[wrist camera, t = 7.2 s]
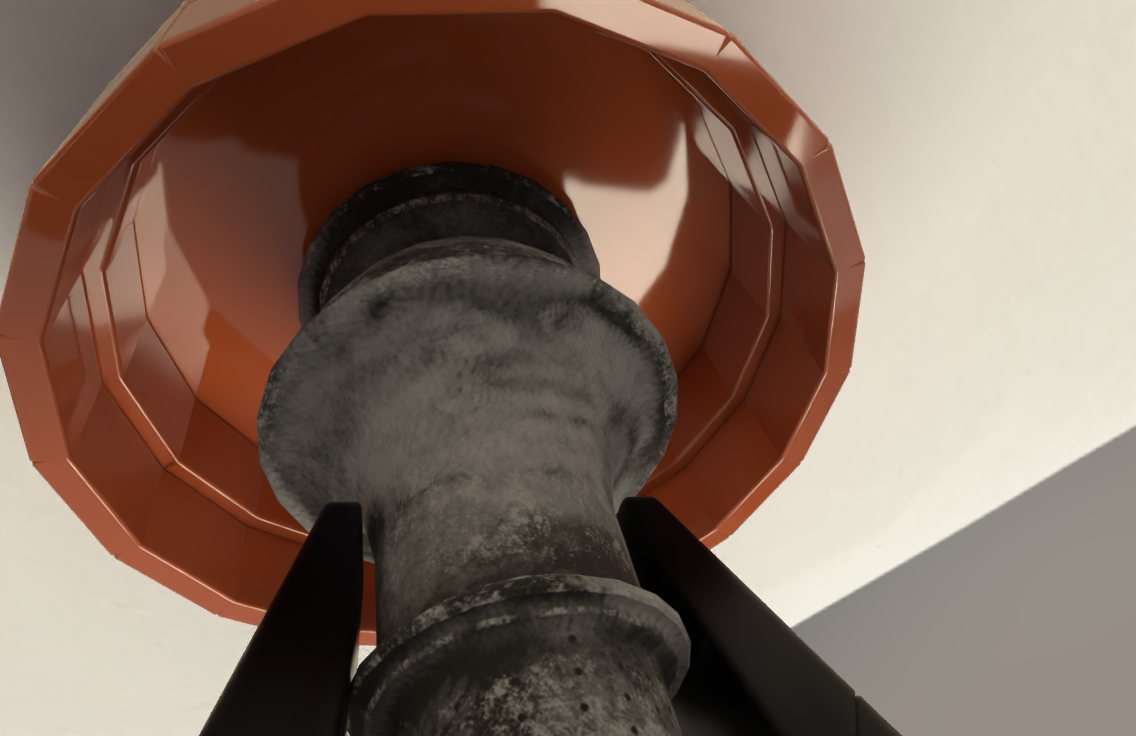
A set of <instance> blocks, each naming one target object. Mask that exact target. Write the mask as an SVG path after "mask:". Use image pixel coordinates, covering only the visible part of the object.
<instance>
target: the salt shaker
mask: <svg viewBox="0 0 1136 736" xmlns="http://www.w3.org/2000/svg"><path fill="white" fill-rule="evenodd" d="M298 305H299V321H300V323H301V326H302V327H301V329H300V330H299V331H298V333H297V334H296V335H295V337H294V338H293V340H292V341H291V342H290V344H289V345H288V346H287V348H286V349H285V351H284V352H283V353H282V355H281V356H280V358H279V359H278V360H277V362H276V363H275V364H274V366H273V367H272V369H271V371H270V374H269V377H268V381H267V384H266V387H265V391H264V394H263V397H262V401H261V404H260V407H259V410H258V414H257V419H256V422H257V435H258V447H259V460H260V465H261V467H262V469H263V471H264V473H265V475H266V477H267V479H268V482H269V484H270V486H271V488H272V490H273V492H274V494H275V496H276V498H277V500H278V502H279V503H280V504H281V505H282V506H283V507H284V508H285V509H286V510H287V511H288V512H289V513H290V514H291V515H292V516H293V517H294V518H295V519H296V520H297V521H298V522H299V523H300V524H301V525H302V526H303V527H304V528H305V529H306V530H307V531H308V532H310V530H311V529H312V527H313V525H314V523H315V521H316V519H317V518H318V516H319V514H320V512H321V510H322V509H323V507H324V506H325V505H326V504H327V503H329V502H359V503H360V504H361V506H362V522H363V560H364V561H367V562H371V563H374V564H375V599H376V648H375V649H374V650H373V651H372V652H371V653H370V654H369V655H368V656H367V657H366V658H365V659H364V661H363V662H362V663H361V664H360V665H359V667H358V669H357V671H356V673H355V675H354V677H353V679H352V681H351V687H350V694H349V705H348V720H347V731H348V733H349V735H350V736H683V735H682V732H681V729H680V726H679V723H678V720H677V717H676V714H675V711H674V708H673V705H672V702H671V700H672V699H673V697H674V696H675V695H676V694H677V692H678V690H679V688H680V686H681V683H682V681H683V679H684V677H685V675H686V673H687V671H688V669H689V666H690V651H691V641H690V639H689V636H688V634H687V632H686V629H685V627H684V625H683V623H682V621H681V618H680V616H679V614H678V612H676V611H675V610H674V609H673V608H672V607H670V606H669V605H668V604H667V603H666V602H664V601H663V600H662V599H661V598H660V597H658V596H657V595H656V594H654V593H651V592H649V591H646V590H644V589H641V587H640V584H639V581H638V578H637V575H636V572H635V569H634V566H633V564H632V561H631V558H630V555H629V552H628V549H627V546H626V543H625V540H624V537H623V534H622V531H621V529H620V526H619V523H618V520H617V517H616V513H617V512H618V509H619V506H620V504H621V502H622V500H623V499H624V498H626V497H632V496H636V495H637V494H638V493H639V492H640V490H641V489H642V487H643V486H644V484H645V483H646V482H647V480H648V479H649V477H650V476H651V474H652V473H653V471H654V470H655V468H656V467H657V465H658V464H659V463H660V461H661V460H662V458H663V457H664V454H665V452H666V449H667V446H668V443H669V440H670V437H671V434H672V432H673V429H674V426H675V423H676V420H677V397H678V378H677V375H676V372H675V369H674V366H673V363H672V360H671V357H670V355H669V352H668V349H667V346H666V343H665V340H664V338H663V336H662V335H661V334H660V333H659V331H658V330H657V329H656V328H655V326H654V325H653V324H652V323H651V321H650V320H649V319H648V318H647V316H646V315H645V314H644V312H643V311H642V310H641V309H640V307H639V306H638V305H637V304H636V302H635V301H633V300H632V299H630V298H629V297H627V296H626V295H624V294H623V293H621V292H620V291H618V290H617V289H615V288H614V287H612V286H611V285H609V284H607V283H606V282H604V281H603V280H601V278H600V264H599V262H598V259H597V256H596V254H595V251H594V248H593V246H592V243H591V241H590V238H589V235H588V233H587V231H586V229H585V228H584V227H583V225H582V224H581V223H580V221H579V220H578V219H577V218H576V216H575V215H574V214H573V213H572V211H571V210H570V209H569V208H568V206H567V205H566V204H565V202H564V201H562V200H561V199H560V198H558V197H557V196H555V195H554V194H552V193H551V192H550V191H548V190H547V189H545V188H544V187H543V186H541V185H540V184H538V183H537V182H535V181H534V180H533V179H530V178H528V177H525V176H522V175H519V174H516V173H514V172H511V171H508V170H505V169H503V168H500V167H497V166H494V165H488V164H477V163H465V162H454V161H446V162H440V163H433V164H427V165H421V166H415V167H408V168H404V169H401V170H399V171H397V172H395V173H392V174H390V175H388V176H385V177H383V178H381V179H379V180H376V181H374V182H372V183H369V184H367V185H365V186H363V187H362V188H361V189H360V190H358V191H357V192H356V193H355V194H353V195H352V196H351V197H350V198H348V199H347V200H346V201H345V202H343V203H342V204H341V205H340V206H338V207H337V208H336V209H335V210H334V211H332V212H331V213H330V215H329V216H328V218H327V219H326V221H325V222H324V224H323V225H322V226H321V228H320V229H319V231H318V232H317V234H316V235H315V237H314V238H313V240H312V241H311V242H310V244H309V246H308V249H307V253H306V256H305V259H304V263H303V266H302V269H301V273H300V276H299V279H298Z"/></svg>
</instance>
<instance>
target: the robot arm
mask: <svg viewBox="0 0 1136 736" xmlns="http://www.w3.org/2000/svg"><path fill="white" fill-rule="evenodd" d="M616 517H617V520H618V523H619V526H620V529H621V531H622V534H623V537H624V540H625V543H626V546H627V549H628V552H629V555H630V558H631V561H632V564H633V566H634V569H635V572H636V575H637V578H638V581H639V584H640V587H641V589H644V590H646V591H649V592H651V593H654V594H656V595H657V596H658V597H660V598H661V599H662V600H663V601H664V602H666V603H667V604H668V605H669V606H670V607H672V608H673V609H674V610H675V611H676V612H678V614H679V616H680V618H681V621H682V623H683V625H684V627H685V629H686V632H687V634H688V636H689V639H690V641H691V651H690V666H689V669H688V671H687V673H686V675H685V677H684V679H683V681H682V683H681V686H680V688H679V690H678V692H677V694H676V695H675V696H674V697H673V699H672V700H671V702H672V705H673V708H674V711H675V714H676V717H677V720H678V723H679V726H680V729H681V732H682V735H683V736H902V735H901V734H900V733H898V731H896V730H895V729H894V728H893V727H892V726H891V725H890V724H889V723H888V722H887V721H886V720H885V719H883V717H881V716H880V715H879V714H878V713H877V712H876V711H875V710H874V709H873V708H872V707H871V706H870V705H869V704H868V703H867V702H866V701H865V700H864V699H863V698H862V697H861V696H858V695H857V696H855V691H854V690H853V689H852V688H851V687H850V686H849V685H848V684H847V683H846V682H845V681H844V680H843V679H842V678H841V677H840V676H839V675H838V674H837V673H836V672H834V670H833V669H832V668H831V667H830V666H829V665H828V664H826V662H824V661H823V660H822V659H821V658H820V657H819V656H818V655H817V654H816V653H815V652H814V651H813V650H812V649H811V648H810V647H809V646H808V645H807V644H806V643H805V642H804V641H803V640H802V639H801V638H800V637H799V636H798V635H797V634H796V633H795V632H794V631H793V630H791V628H790V627H788V626H787V625H786V624H785V623H784V622H783V621H782V620H781V619H780V618H779V617H778V616H777V615H776V614H775V613H774V612H773V611H772V610H771V609H770V608H769V607H768V606H767V605H766V604H765V603H764V602H763V601H762V600H761V599H760V598H759V597H758V596H757V595H756V594H754V593H753V592H752V591H751V590H750V589H749V588H748V587H747V586H746V585H745V584H744V583H743V582H742V581H741V580H740V579H739V578H738V577H737V576H736V575H735V574H734V573H733V572H732V571H731V570H730V569H729V568H728V567H727V566H726V565H725V564H724V563H723V562H722V561H720V560H719V559H718V558H717V557H716V556H715V555H714V554H713V553H712V552H711V551H710V550H709V549H708V548H707V547H706V546H705V545H704V544H703V543H702V542H701V541H700V540H699V539H698V538H697V537H696V536H695V535H694V534H693V533H692V532H691V531H690V530H689V529H688V528H686V527H685V526H684V525H683V524H682V523H681V522H680V521H679V520H678V519H677V518H676V517H675V516H674V515H673V514H672V513H671V512H670V511H669V510H668V509H667V508H666V507H665V506H664V505H663V504H662V503H661V502H660V501H659V500H657V499H656V498H654V497H651V496H632V497H626V498H624V499H623V500H622V502H621V504H620V506H619V509H618V512H617V515H616ZM363 583H364V567H363V522H362V506H361V504H360V503H359V502H329V503H327V504H326V505H325V506H324V507H323V509H322V510H321V512H320V514H319V516H318V518H317V519H316V521H315V523H314V525H313V527H312V529H311V530H310V532H309V534H308V536H307V538H306V540H305V541H304V543H303V545H302V547H301V549H300V551H299V553H298V554H297V556H296V558H295V560H294V562H293V564H292V565H291V567H290V569H289V571H288V573H287V575H286V576H285V578H284V580H283V582H282V584H281V586H280V587H279V589H278V591H277V593H276V595H275V597H274V598H273V600H272V602H271V604H270V606H269V608H268V610H267V611H266V613H265V615H264V617H263V619H262V621H261V622H260V624H259V626H258V628H257V630H256V632H255V633H254V635H253V637H252V639H251V641H250V643H249V644H248V646H247V648H246V650H245V652H244V654H243V655H242V657H241V659H240V661H239V663H238V665H237V666H236V668H235V670H234V672H233V674H232V676H231V678H230V679H229V681H228V683H227V685H226V687H225V689H224V690H223V692H222V694H221V696H220V698H219V700H218V701H217V703H216V705H215V707H214V709H213V711H212V712H211V714H210V716H209V718H208V720H207V722H206V723H205V725H204V727H203V729H202V731H201V733H200V734H199V736H350V735H349V733H348V731H347V720H348V705H349V694H350V687H351V681H352V679H353V677H354V675H355V673H356V671H357V666H358V653H359V640H360V627H361V614H362V601H363Z"/></svg>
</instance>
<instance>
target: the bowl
mask: <svg viewBox="0 0 1136 736" xmlns="http://www.w3.org/2000/svg"><path fill="white" fill-rule="evenodd" d="M446 161H454V162H465V163H477V164H488V165H494V166H497V167H500V168H503V169H505V170H508V171H511V172H514V173H516V174H519V175H522V176H525V177H528V178H530V179H533V180H534V181H535V182H537V183H538V184H540V185H541V186H543V187H544V188H545V189H547V190H548V191H550V192H551V193H552V194H554V195H555V196H557V197H558V198H560V199H561V200H562V201H564V202H565V204H566V205H567V206H568V208H569V209H570V210H571V211H572V213H573V214H574V215H575V216H576V218H577V219H578V220H579V221H580V223H581V224H582V225H583V227H584V228H585V229H586V231H587V233H588V235H589V238H590V241H591V243H592V246H593V248H594V251H595V254H596V256H597V259H598V262H599V264H600V278H601V280H603V281H604V282H606V283H607V284H609V285H611V286H612V287H614V288H615V289H617V290H618V291H620V292H621V293H623V294H624V295H626V296H627V297H629V298H630V299H632V300H633V301H635V302H636V304H637V305H638V306H639V307H640V309H641V310H642V311H643V312H644V314H645V315H646V316H647V318H648V319H649V320H650V321H651V323H652V324H653V325H654V326H655V328H656V329H657V330H658V331H659V333H660V334H661V335H662V336H663V338H664V340H665V343H666V346H667V349H668V352H669V355H670V357H671V360H672V363H673V366H674V369H675V372H676V375H677V378H678V397H677V420H676V423H675V426H674V429H673V432H672V434H671V437H670V440H669V443H668V446H667V449H666V452H665V454H664V457H663V458H662V460H661V461H660V463H659V464H658V465H657V467H656V468H655V470H654V471H653V473H652V474H651V476H650V477H649V479H648V480H647V482H646V483H645V484H644V486H643V487H642V489H641V490H640V492H639V493H638V494H637V495H636V496H651V497H654V498H656V499H657V500H659V501H660V502H661V503H662V504H663V505H664V506H665V507H666V508H667V509H668V510H669V511H670V512H671V513H672V514H673V515H674V516H675V517H676V518H677V519H678V520H679V521H680V522H681V523H682V524H683V525H684V526H685V527H686V528H688V529H689V530H690V531H691V532H692V533H693V534H694V535H695V536H696V537H697V538H698V539H699V540H700V541H701V542H702V543H703V544H704V545H705V546H706V547H707V548H708V549H709V550H710V549H712V548H713V547H715V546H716V545H718V544H719V543H721V542H723V541H724V540H726V539H727V538H728V537H729V535H732V534H733V533H734V532H735V531H736V530H737V529H738V528H739V527H740V526H741V525H742V524H743V523H744V522H745V521H746V520H747V519H748V518H749V517H750V516H751V515H752V514H753V512H754V511H755V510H756V509H757V508H758V507H759V506H760V505H761V504H762V503H763V502H764V501H765V500H766V499H767V498H768V497H769V496H770V495H771V494H772V493H773V492H774V491H775V490H776V489H777V488H778V487H779V486H780V484H781V483H782V482H783V481H784V480H785V479H786V478H787V477H788V476H789V475H790V474H791V473H792V472H793V471H794V470H795V469H796V468H797V467H798V466H799V465H800V463H801V462H800V461H802V460H803V459H804V458H805V456H806V454H807V452H808V450H809V448H810V446H811V444H812V442H813V440H814V439H815V437H816V435H817V433H818V431H819V429H820V427H821V425H822V423H823V421H824V420H825V418H826V416H827V414H828V412H829V410H830V408H831V406H832V404H833V403H834V401H835V399H836V397H837V395H838V393H839V391H840V389H841V387H842V385H843V384H844V382H845V380H846V378H847V376H848V374H849V372H850V370H849V369H850V368H851V365H852V358H853V351H854V343H855V336H856V328H857V321H858V314H859V306H860V299H861V292H862V284H863V277H864V269H865V261H864V259H865V256H864V252H863V249H862V245H861V242H860V239H859V235H858V232H857V228H856V225H855V222H854V218H853V215H852V212H851V208H850V205H849V201H848V198H847V195H846V191H845V188H844V184H843V181H842V178H841V174H840V171H839V168H838V164H837V161H836V157H835V154H834V151H833V147H832V144H831V143H830V142H829V140H828V137H827V136H826V135H825V134H824V133H823V132H822V131H821V130H820V129H819V127H818V126H817V125H816V124H815V123H814V122H813V121H812V120H811V119H810V118H809V117H808V115H807V114H806V113H805V112H804V111H803V110H802V109H801V108H800V107H799V106H798V105H797V103H796V102H795V101H794V100H793V99H792V98H791V97H790V96H789V95H788V94H787V93H786V91H785V90H784V89H783V88H782V87H781V86H780V85H779V84H778V83H777V82H776V81H775V79H774V78H773V77H772V76H771V75H770V74H769V73H768V72H767V71H766V70H765V69H764V67H763V66H762V65H761V64H760V63H759V62H758V61H757V60H756V59H755V58H754V57H753V55H752V54H751V53H750V52H749V51H748V50H747V49H746V48H745V47H744V46H743V45H742V43H741V42H740V41H739V40H738V39H737V38H736V37H735V36H734V35H733V34H732V33H730V32H729V31H727V30H726V29H725V28H723V27H722V26H720V25H719V24H718V23H716V22H715V21H713V20H712V19H711V18H709V17H708V16H706V15H705V14H704V13H702V12H701V11H699V10H698V9H697V8H695V7H694V6H692V5H691V4H690V3H688V2H687V1H685V0H184V1H183V2H182V3H181V4H180V6H179V7H178V8H177V9H176V10H175V11H174V12H173V13H172V14H171V15H170V17H169V18H168V19H167V20H166V21H165V22H164V23H163V24H162V25H161V27H160V28H159V29H158V30H157V31H156V32H155V33H154V34H153V35H152V36H151V38H150V39H149V40H148V41H147V42H146V43H145V44H144V45H143V46H142V48H141V49H140V50H139V51H138V52H137V53H136V54H135V55H134V56H133V57H132V59H131V60H130V61H129V62H128V63H127V64H126V65H125V66H124V67H123V69H122V70H121V71H120V72H119V73H118V74H117V75H116V76H115V77H114V78H113V80H112V81H111V82H110V83H109V84H108V86H107V87H106V88H105V89H104V91H103V92H102V93H101V94H100V96H99V97H98V98H97V99H96V101H95V102H94V103H93V104H92V106H91V107H90V108H89V109H88V111H87V112H86V113H85V114H84V116H83V117H82V118H81V119H80V121H79V122H78V123H77V124H76V126H75V127H74V128H73V129H72V131H71V132H70V133H69V134H68V136H67V137H66V138H65V139H64V141H63V142H62V143H61V144H60V146H59V147H58V148H57V149H56V151H55V152H54V153H53V154H52V155H51V157H50V158H49V159H48V160H47V162H46V163H45V164H44V165H43V167H42V168H41V169H40V170H39V172H38V173H37V174H36V175H35V177H34V178H33V182H32V183H31V185H30V186H29V187H28V192H27V196H26V200H25V204H24V208H23V212H22V216H21V221H20V225H19V229H18V233H17V237H16V241H15V245H14V249H13V254H12V258H11V262H10V266H9V270H8V274H7V278H6V283H5V287H4V291H3V295H2V299H1V303H0V357H1V361H2V364H3V368H4V371H5V375H6V378H7V382H8V385H9V389H10V392H11V396H12V399H13V403H14V406H15V410H16V413H17V417H18V420H19V424H20V427H21V431H22V434H23V438H24V441H25V445H26V448H27V452H28V455H29V459H30V461H32V463H33V466H34V467H35V468H36V470H37V471H38V472H39V473H40V474H41V475H42V477H43V478H44V479H45V480H46V481H47V482H48V483H49V485H50V486H51V487H52V488H53V489H54V490H55V491H56V493H57V494H58V495H59V496H60V497H61V498H62V499H63V501H64V502H65V503H66V504H67V505H68V506H69V507H70V509H71V510H72V511H73V512H74V513H75V514H76V515H77V517H78V518H79V519H80V520H81V521H82V522H83V523H84V525H85V526H86V527H87V528H88V529H89V530H90V532H91V533H92V534H93V535H94V536H95V537H96V538H97V540H98V541H99V542H100V543H101V544H102V545H103V546H104V548H105V549H106V550H107V551H108V552H109V553H110V554H111V555H114V557H115V558H116V559H117V560H119V561H121V562H123V563H124V564H126V565H128V566H130V567H131V568H133V569H135V570H137V571H139V572H140V573H142V574H144V575H146V576H147V577H149V578H151V579H153V580H154V581H156V582H158V583H160V584H162V585H163V586H165V587H167V588H169V589H170V590H172V591H174V592H176V593H177V594H179V595H181V596H183V597H184V598H186V599H188V600H190V601H192V602H193V603H195V604H197V605H199V606H200V607H202V608H204V609H206V610H207V611H209V612H211V613H213V614H218V616H220V617H223V618H227V619H231V620H235V621H239V622H243V623H247V624H251V625H254V626H259V624H260V622H261V621H262V619H263V617H264V615H265V613H266V611H267V610H268V608H269V606H270V604H271V602H272V600H273V598H274V597H275V595H276V593H277V591H278V589H279V587H280V586H281V584H282V582H283V580H284V578H285V576H286V575H287V573H288V571H289V569H290V567H291V565H292V564H293V562H294V560H295V558H296V556H297V554H298V553H299V551H300V549H301V547H302V545H303V543H304V541H305V540H306V538H307V536H308V534H309V532H308V531H307V530H306V529H305V528H304V527H303V526H302V525H301V524H300V523H299V522H298V521H297V520H296V519H295V518H294V517H293V516H292V515H291V514H290V513H289V512H288V511H287V510H286V509H285V508H284V507H283V506H282V505H281V504H280V503H279V502H278V500H277V498H276V496H275V494H274V492H273V490H272V488H271V486H270V484H269V482H268V479H267V477H266V475H265V473H264V471H263V469H262V467H261V465H260V460H259V447H258V435H257V422H256V419H257V414H258V410H259V407H260V404H261V401H262V397H263V394H264V391H265V387H266V384H267V381H268V377H269V374H270V371H271V369H272V367H273V366H274V364H275V363H276V362H277V360H278V359H279V358H280V356H281V355H282V353H283V352H284V351H285V349H286V348H287V346H288V345H289V344H290V342H291V341H292V340H293V338H294V337H295V335H296V334H297V333H298V331H299V330H300V329H301V327H302V326H301V323H300V321H299V305H298V279H299V276H300V273H301V269H302V266H303V263H304V259H305V256H306V253H307V249H308V246H309V244H310V242H311V241H312V240H313V238H314V237H315V235H316V234H317V232H318V231H319V229H320V228H321V226H322V225H323V224H324V222H325V221H326V219H327V218H328V216H329V215H330V213H331V212H332V211H334V210H335V209H336V208H337V207H338V206H340V205H341V204H342V203H343V202H345V201H346V200H347V199H348V198H350V197H351V196H352V195H353V194H355V193H356V192H357V191H358V190H360V189H361V188H362V187H363V186H365V185H367V184H369V183H372V182H374V181H376V180H379V179H381V178H383V177H385V176H388V175H390V174H392V173H395V172H397V171H399V170H401V169H404V168H408V167H415V166H421V165H427V164H433V163H440V162H446ZM616 515H617V513H616ZM363 567H364V583H363V601H362V614H361V627H360V640H359V645H368V646H376V599H375V564H374V563H371V562H367V561H364V560H363Z"/></svg>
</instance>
